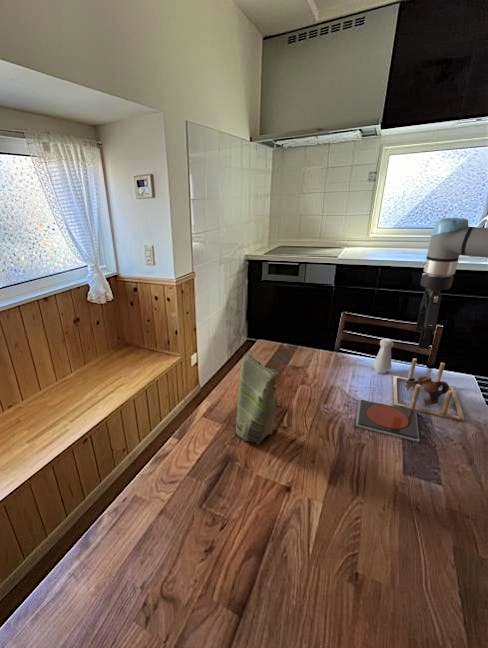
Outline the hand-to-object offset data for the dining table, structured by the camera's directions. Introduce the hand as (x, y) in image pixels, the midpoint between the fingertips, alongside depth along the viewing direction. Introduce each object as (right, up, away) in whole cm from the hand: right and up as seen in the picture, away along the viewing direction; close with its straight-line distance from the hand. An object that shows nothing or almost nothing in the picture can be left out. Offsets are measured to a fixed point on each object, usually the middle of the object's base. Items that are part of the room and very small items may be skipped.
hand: (421, 339), depth 107 cm
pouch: (-55, -28, -7) cm, 62 cm away
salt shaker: (-1, -12, +20) cm, 24 cm away
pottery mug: (+4, -19, +4) cm, 20 cm away
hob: (-14, -25, -5) cm, 29 cm away
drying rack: (+4, -19, +4) cm, 20 cm away
